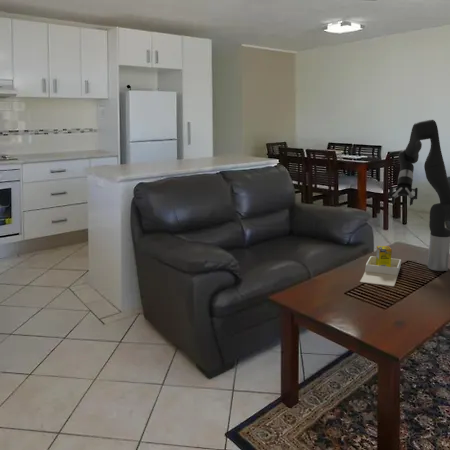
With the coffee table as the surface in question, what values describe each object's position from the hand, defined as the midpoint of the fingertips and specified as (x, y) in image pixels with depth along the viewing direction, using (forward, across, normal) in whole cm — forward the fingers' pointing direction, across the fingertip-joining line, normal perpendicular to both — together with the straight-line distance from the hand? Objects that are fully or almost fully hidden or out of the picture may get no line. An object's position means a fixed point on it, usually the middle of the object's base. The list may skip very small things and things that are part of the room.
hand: (401, 204), depth 250 cm
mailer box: (+44, -4, -4) cm, 45 cm away
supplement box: (+39, -5, +1) cm, 39 cm away
